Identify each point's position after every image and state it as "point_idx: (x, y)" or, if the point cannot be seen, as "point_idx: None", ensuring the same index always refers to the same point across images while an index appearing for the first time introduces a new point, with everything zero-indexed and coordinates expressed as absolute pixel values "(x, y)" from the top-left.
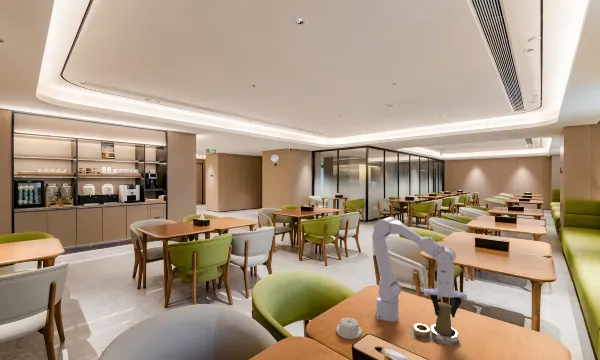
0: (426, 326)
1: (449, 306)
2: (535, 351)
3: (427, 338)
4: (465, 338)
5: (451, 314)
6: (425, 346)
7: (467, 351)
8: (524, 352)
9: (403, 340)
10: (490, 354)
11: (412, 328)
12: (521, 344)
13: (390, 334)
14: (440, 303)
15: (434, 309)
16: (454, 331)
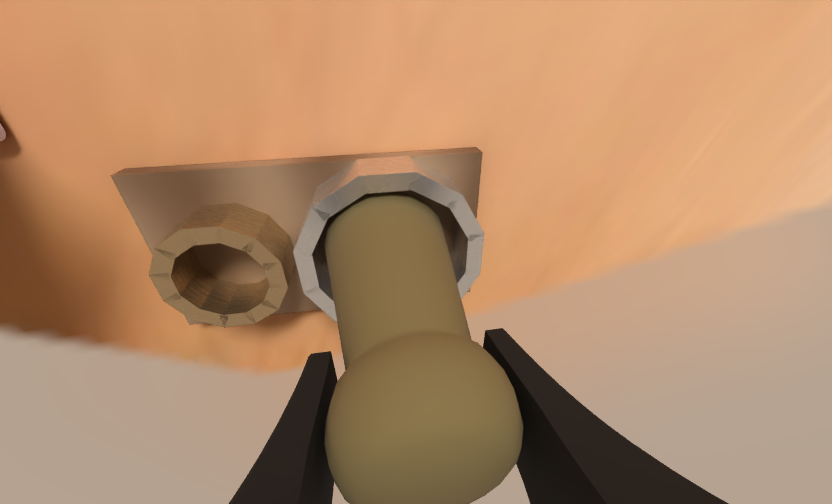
0: (257, 251)
1: (493, 487)
2: (818, 187)
3: None
4: (527, 174)
5: (488, 348)
6: (278, 324)
7: (484, 292)
8: (755, 213)
9: (140, 317)
10: (582, 279)
11: (150, 203)
12: (815, 139)
13: (21, 288)
14: (377, 492)
15: (296, 388)
16: (466, 242)
